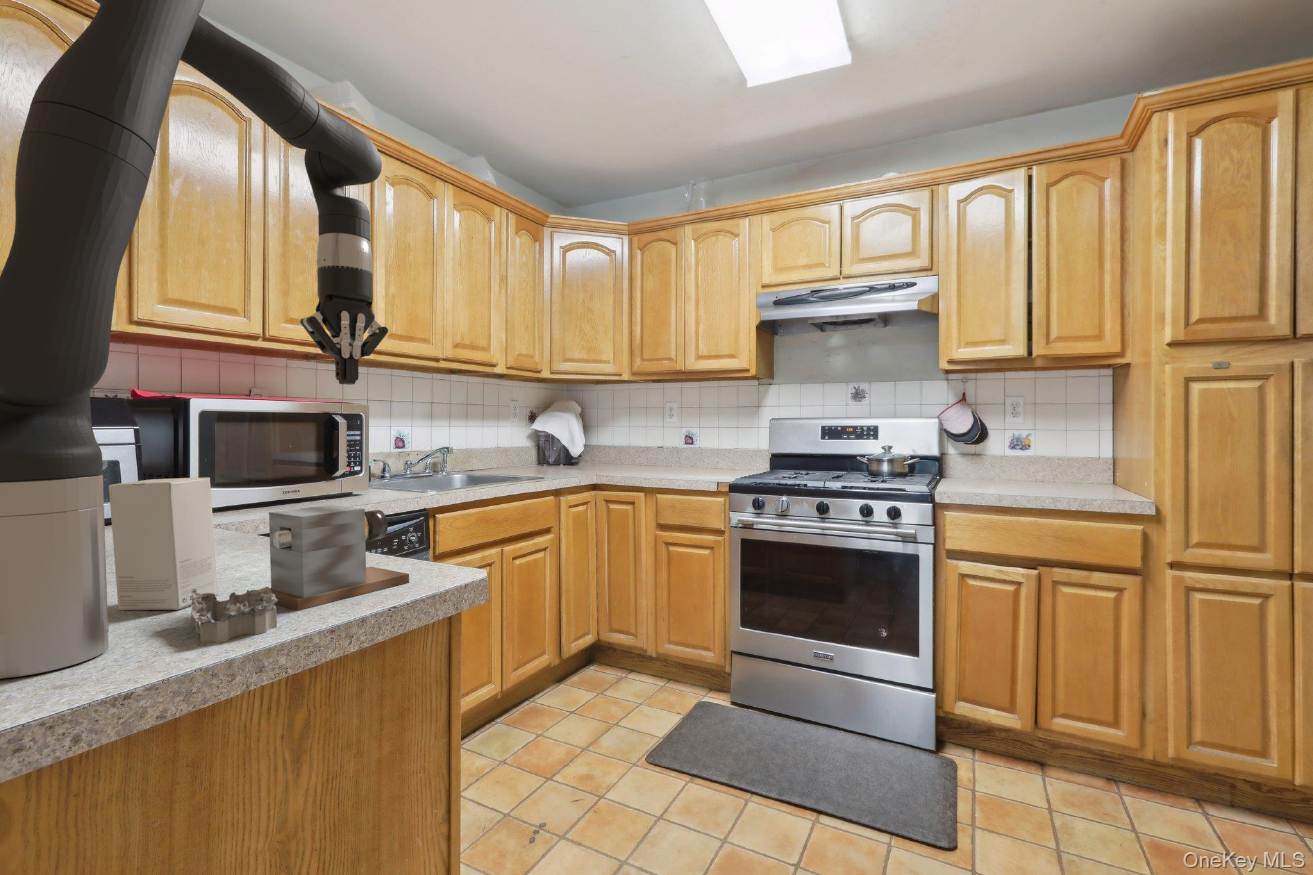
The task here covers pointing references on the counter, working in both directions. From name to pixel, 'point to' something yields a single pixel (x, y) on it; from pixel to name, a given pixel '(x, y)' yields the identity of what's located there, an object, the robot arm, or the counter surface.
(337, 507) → the bearing block
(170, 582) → the skincare box
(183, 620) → the counter surface
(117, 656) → the counter surface
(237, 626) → the egg carton
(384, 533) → the shaft
